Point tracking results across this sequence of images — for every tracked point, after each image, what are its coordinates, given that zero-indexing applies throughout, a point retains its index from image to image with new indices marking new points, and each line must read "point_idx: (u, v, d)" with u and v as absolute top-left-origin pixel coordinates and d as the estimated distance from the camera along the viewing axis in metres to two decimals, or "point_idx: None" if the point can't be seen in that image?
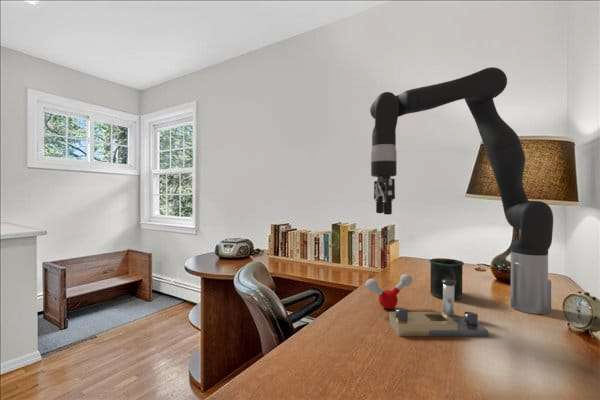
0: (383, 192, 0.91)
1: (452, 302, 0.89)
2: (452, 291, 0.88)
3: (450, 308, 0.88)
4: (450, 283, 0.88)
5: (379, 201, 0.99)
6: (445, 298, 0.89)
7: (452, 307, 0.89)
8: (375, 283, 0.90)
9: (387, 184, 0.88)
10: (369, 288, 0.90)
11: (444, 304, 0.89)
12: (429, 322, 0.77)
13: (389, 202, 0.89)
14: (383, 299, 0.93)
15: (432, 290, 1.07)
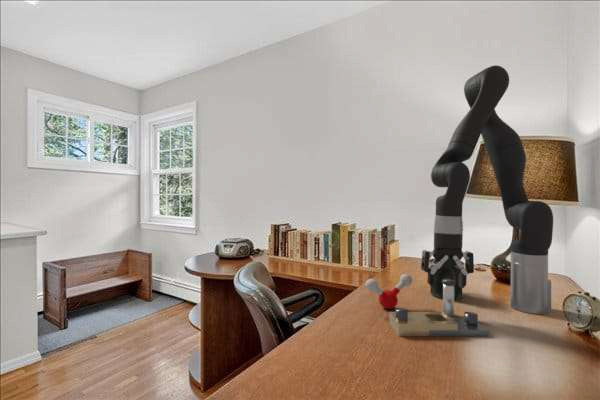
0: None
1: (452, 302, 0.89)
2: (452, 291, 0.88)
3: (450, 308, 0.88)
4: (450, 283, 0.88)
5: None
6: (445, 298, 0.89)
7: (452, 307, 0.89)
8: (375, 283, 0.90)
9: None
10: (369, 288, 0.90)
11: (444, 304, 0.89)
12: (429, 322, 0.77)
13: None
14: (383, 299, 0.93)
15: (432, 290, 1.07)
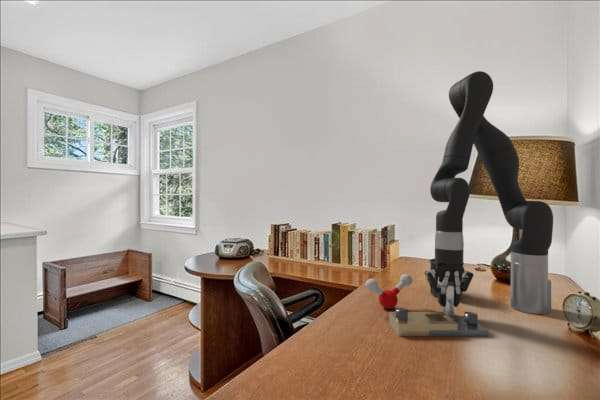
0: None
1: (452, 302, 0.89)
2: (452, 291, 0.88)
3: (450, 307, 0.88)
4: (450, 283, 0.88)
5: None
6: (445, 297, 0.89)
7: (452, 307, 0.89)
8: (375, 283, 0.90)
9: None
10: (369, 288, 0.90)
11: None
12: (429, 322, 0.77)
13: None
14: (383, 299, 0.93)
15: (432, 290, 1.07)
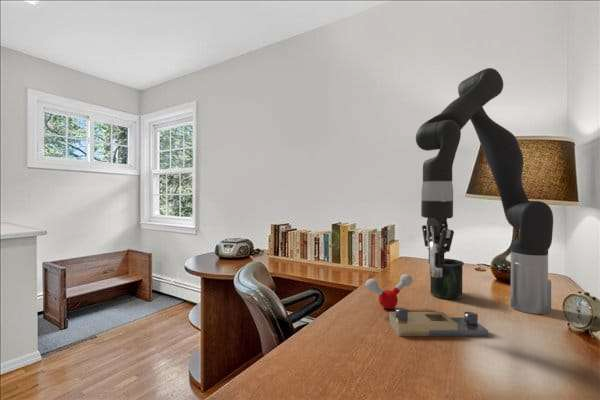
0: None
1: None
2: None
3: None
4: None
5: None
6: None
7: None
8: (375, 283, 0.90)
9: None
10: (369, 288, 0.90)
11: None
12: (429, 322, 0.77)
13: None
14: (383, 299, 0.93)
15: (432, 290, 1.07)
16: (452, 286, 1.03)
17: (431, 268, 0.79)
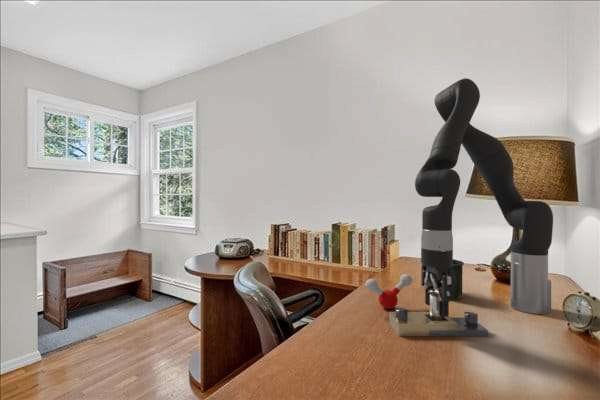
0: None
1: None
2: None
3: None
4: None
5: None
6: None
7: None
8: (375, 283, 0.90)
9: None
10: (369, 288, 0.90)
11: (440, 319, 0.79)
12: (429, 322, 0.77)
13: None
14: (383, 299, 0.93)
15: None
16: None
17: None
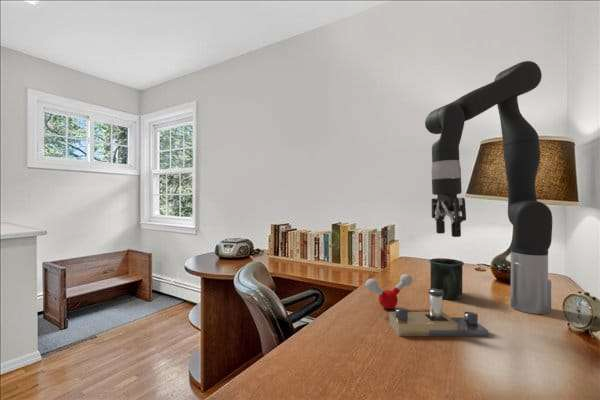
0: None
1: None
2: None
3: None
4: None
5: None
6: (441, 310, 0.79)
7: None
8: (375, 283, 0.90)
9: None
10: (369, 288, 0.90)
11: (440, 319, 0.79)
12: (429, 322, 0.77)
13: None
14: (383, 299, 0.93)
15: None
16: (452, 286, 1.03)
17: None
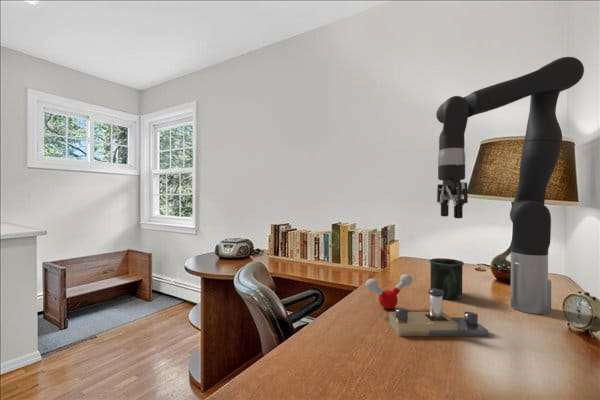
0: None
1: None
2: None
3: None
4: None
5: None
6: (441, 310, 0.79)
7: None
8: (375, 283, 0.90)
9: None
10: (369, 288, 0.90)
11: (440, 319, 0.79)
12: (429, 322, 0.77)
13: None
14: (383, 299, 0.93)
15: None
16: (452, 286, 1.03)
17: None
